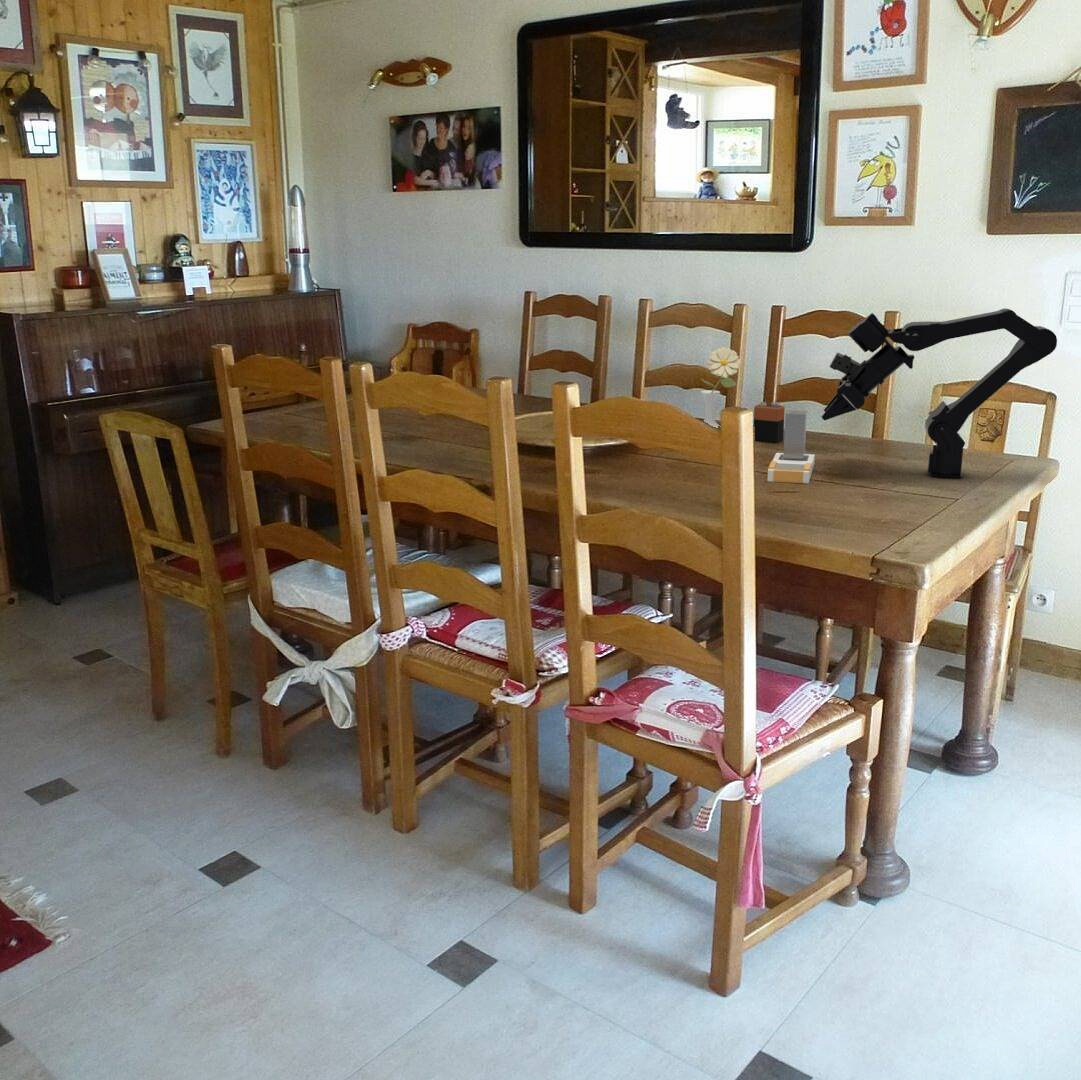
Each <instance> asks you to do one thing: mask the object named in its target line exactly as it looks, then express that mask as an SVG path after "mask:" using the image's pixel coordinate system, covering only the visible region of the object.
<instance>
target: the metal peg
mask: <svg viewBox="0 0 1081 1080" xmlns="http://www.w3.org/2000/svg"><path fill="white" fill-rule="evenodd" d="M807 413H808V411H807V410H787V411H786V412H785V414H784V434H783V453H784V455H783V460H793V461H804V455H805V454H806V453H805V451H806V436H807V434H806V433H807V416H808V415H807Z"/></svg>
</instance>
